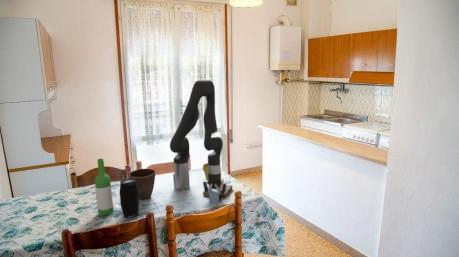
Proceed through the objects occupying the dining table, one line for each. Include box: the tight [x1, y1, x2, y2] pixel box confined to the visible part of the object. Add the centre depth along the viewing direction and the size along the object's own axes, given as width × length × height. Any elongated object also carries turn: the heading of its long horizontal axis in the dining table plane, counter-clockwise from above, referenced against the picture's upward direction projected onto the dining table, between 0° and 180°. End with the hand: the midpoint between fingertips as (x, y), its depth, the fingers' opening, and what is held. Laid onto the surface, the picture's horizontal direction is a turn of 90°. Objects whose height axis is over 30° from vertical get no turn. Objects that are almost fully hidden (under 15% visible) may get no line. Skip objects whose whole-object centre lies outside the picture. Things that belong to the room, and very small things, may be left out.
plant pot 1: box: [128, 168, 156, 202], centre depth 189 cm, size 15×15×16 cm
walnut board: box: [202, 184, 233, 199], centre depth 196 cm, size 14×14×2 cm
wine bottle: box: [94, 158, 114, 216], centre depth 170 cm, size 8×8×30 cm
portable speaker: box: [119, 177, 140, 219], centre depth 167 cm, size 9×9×20 cm
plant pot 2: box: [202, 162, 208, 181], centre depth 220 cm, size 10×10×10 cm
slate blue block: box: [208, 189, 221, 203], centre depth 185 cm, size 6×6×6 cm
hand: (215, 199), depth 186 cm, fingers closed on slate blue block, 5 cm apart
